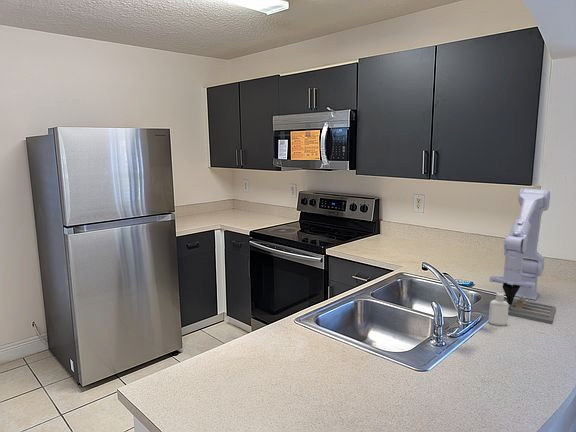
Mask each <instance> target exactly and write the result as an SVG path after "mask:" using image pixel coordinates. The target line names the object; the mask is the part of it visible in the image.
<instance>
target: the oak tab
mask: <svg viewBox="0 0 576 432" xmlns="http://www.w3.org/2000/svg"><path fill="white" fill-rule="evenodd" d="M516 308H521V309H523V302H521V300H520V301H517V302H516Z"/></svg>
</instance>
